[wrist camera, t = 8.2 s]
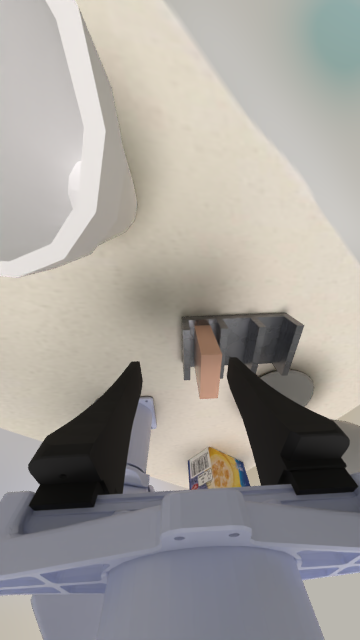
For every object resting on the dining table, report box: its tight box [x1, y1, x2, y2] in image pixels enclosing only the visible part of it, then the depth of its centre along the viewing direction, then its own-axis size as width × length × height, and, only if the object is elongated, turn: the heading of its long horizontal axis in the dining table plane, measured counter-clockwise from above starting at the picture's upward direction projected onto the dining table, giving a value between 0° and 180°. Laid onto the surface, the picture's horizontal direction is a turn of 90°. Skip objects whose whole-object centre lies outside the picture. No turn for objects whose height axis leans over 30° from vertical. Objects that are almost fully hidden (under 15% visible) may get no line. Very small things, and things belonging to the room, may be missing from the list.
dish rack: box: [182, 313, 304, 380], centre depth 22 cm, size 14×8×4 cm, turn 92°
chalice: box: [260, 370, 360, 475], centre depth 22 cm, size 14×14×15 cm
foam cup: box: [0, 0, 138, 278], centre depth 10 cm, size 10×9×13 cm
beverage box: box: [188, 447, 250, 490], centre depth 28 cm, size 7×11×22 cm, turn 50°
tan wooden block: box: [194, 325, 222, 399], centre depth 20 cm, size 2×6×6 cm, turn 1°
